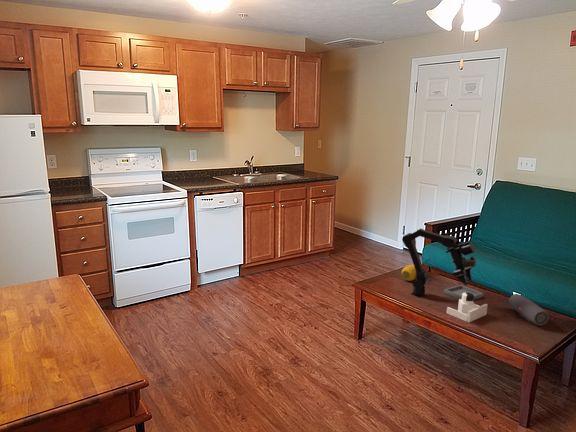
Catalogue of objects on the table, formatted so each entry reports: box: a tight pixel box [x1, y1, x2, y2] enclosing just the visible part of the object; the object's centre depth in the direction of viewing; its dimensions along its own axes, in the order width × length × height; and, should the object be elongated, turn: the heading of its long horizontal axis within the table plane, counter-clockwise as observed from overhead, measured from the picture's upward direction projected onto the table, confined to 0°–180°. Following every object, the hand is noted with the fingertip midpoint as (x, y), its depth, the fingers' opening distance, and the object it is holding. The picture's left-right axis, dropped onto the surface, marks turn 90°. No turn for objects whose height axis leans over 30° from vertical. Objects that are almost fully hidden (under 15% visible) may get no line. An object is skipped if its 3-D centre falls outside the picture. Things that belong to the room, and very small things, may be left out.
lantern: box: [398, 263, 425, 282], centre depth 291 cm, size 10×10×30 cm
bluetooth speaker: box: [508, 293, 550, 326], centre depth 236 cm, size 23×9×10 cm, turn 5°
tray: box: [443, 284, 484, 301], centre depth 267 cm, size 16×16×2 cm
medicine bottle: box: [457, 292, 477, 315], centre depth 240 cm, size 7×7×12 cm
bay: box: [446, 303, 489, 323], centre depth 241 cm, size 14×17×6 cm
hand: (468, 282), depth 247 cm, fingers open, 9 cm apart
